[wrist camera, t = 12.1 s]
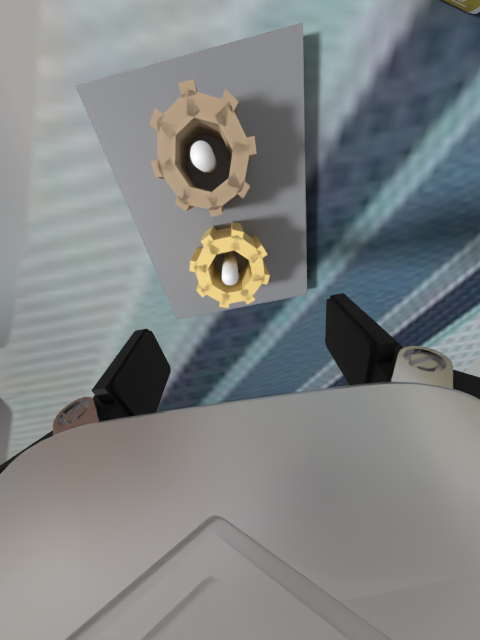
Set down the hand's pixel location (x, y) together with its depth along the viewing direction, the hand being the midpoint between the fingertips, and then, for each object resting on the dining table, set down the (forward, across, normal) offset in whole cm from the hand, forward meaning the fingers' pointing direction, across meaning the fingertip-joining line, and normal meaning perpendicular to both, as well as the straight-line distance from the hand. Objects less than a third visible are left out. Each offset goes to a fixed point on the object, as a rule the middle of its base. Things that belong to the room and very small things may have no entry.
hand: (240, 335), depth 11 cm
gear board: (+14, +1, -5) cm, 15 cm away
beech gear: (+13, +1, -9) cm, 15 cm away
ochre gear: (+13, +1, -1) cm, 13 cm away
